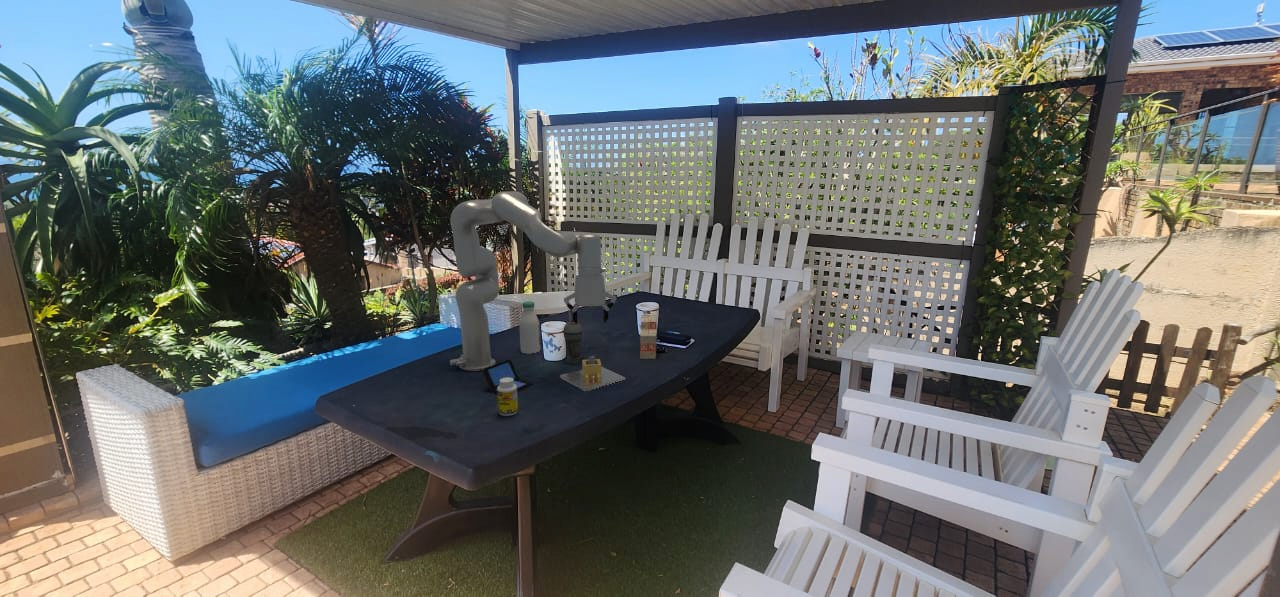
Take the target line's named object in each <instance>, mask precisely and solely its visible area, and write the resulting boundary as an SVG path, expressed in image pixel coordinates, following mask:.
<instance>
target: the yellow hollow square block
mask: <svg viewBox="0 0 1280 597" xmlns="http://www.w3.org/2000/svg"><path fill="white" fill-rule="evenodd" d="M581 362H582V364H581V365H582V366H581V367H582V369H583V379H584V380H585V382H586V384H589V380H591V375H595V379H597V381H598V383H601V379H602V376H601V367H602V362H601V359H600V358H595V364H589V359H582V361H581Z"/></svg>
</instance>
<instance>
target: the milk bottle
mask: <svg viewBox="0 0 1280 597" xmlns="http://www.w3.org/2000/svg"><path fill="white" fill-rule="evenodd" d="M521 305H522V314H521V317H520V319H519V342H520V344H519V345H520V353H522V354H524V353H525V355H533V354H532V353H534V354H537V352H538V353H540V352H541V335H540V334H541V333H540V331H541V330H540V322H539V318H538V316H537V314H536V312H535V302H534V301H529V300H528V301H523V302H522V303H521Z"/></svg>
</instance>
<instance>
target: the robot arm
mask: <svg viewBox="0 0 1280 597" xmlns="http://www.w3.org/2000/svg"><path fill="white" fill-rule="evenodd" d="M504 221H506V222H508V223H510V224H512V225H513V226H514V227H515V228H518V229H519V230H520V231H522V232H524V233H525V234H526V236H527V237H528V239H529V240H530V242H531V243H532V244H533V245H535V246H536V247H537V248H539V249H541V250H542V251H543V252H545V253H547V254H548V255H550V256H553V257H554V258H559V259H560V258H565V257H568V256H572V255H577V275H575V280H574V292H573V293H571V294H570V295H567V296H565V297H563V302H564V303H565V305H566V306H567V308H568V309H570V312H572V321H575V324H577V322H578V309H579V308H580V307H600V306H601V307H602V308H603V313H602V314H603V323H605V324H606V323H607V320H609V311H610V309H611V308H612V307H614V304H615V303H616V301H617V296H615V295H613V294H611V293H609V292H607V291H606V285H605V278H604V275H603V274H602V273H605V272H606V271H607V270H606V267H602V245H601V244H602V240H601V236H600V234H598V233H593V232H591V233H590V232H586V233H584V232H577V231H576V232H575V231H566V232H561V233H559V232H557V231H555V230H553V229H552V228H550V227H548V226H547V225H546V224H545V223H544V222H542V213H541V211H540V210H538V209H536V208H535V207H533V206H532V205H530V203H529V201H528V198H527V197H526V195H525V194H524V193H522V192H520V191H516V190H515V191H509V190H508V191H500V192H498V193H496V194H494V196H493V197H492V198H489V199H488V198H487V199H471V200H466V201H463V202H460V203H459V204H457V206H455V207H454V208H453V210H452V212H451V215H450V227H451V231H452V237H453V246H454V247H453V248H454V256H455V263H456V270H457V272H458V274H459V275H460V276H462V277H463V278H473V277H475V279H469V280H467V281H465V282H462V283H461V284H460V285H459V286H458V287H457V288H456V291H455V301H456V305H457V307H458V312H459V313H458V314H459V320H460V331H461V344H462V354H460V357H458V358H454V359H450V360H449V364H450V366H454V365H456V366H457V367H458V366H459V369H460V368H461V369H460V370H462V369H463V370H462V371H465V370H467V371H466V372H481V371H483V369H485V368H487V367H490V366H493V365H495V364H496V360H495V359H494V358H492V356H491V342H490V328H489V318H488V313H487V311H486V309H485V307H484V305H485V304H489V303H490V302H492V301H494V300H495V299H497V297H498V296H499V293H500V279H499V270H498V260H497V258H496V256H495V254H494V253H493V251H492V250H491V249H490V248H487V247H481V245H480V244H481V243H480V242H481V241H480V237H479V233H478V232H477V229H476V228H475V227H476V226H481V225H488V224H489V225H490V224H495V223H496V224H497V223H499V222H504ZM607 298H608V299H609V300H610V301H609V303H608V304H607V303H606V300H607ZM573 299H574V304H573V305H572V304H571V303H570V301H571V300H573ZM480 370H481V371H480Z"/></svg>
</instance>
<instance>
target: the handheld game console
mask: <svg viewBox="0 0 1280 597" xmlns="http://www.w3.org/2000/svg"><path fill="white" fill-rule="evenodd" d="M482 373H483V377H484V378H485V380H486V383H487V385H488V386H489V389H490V393H491V394H496V395H497V387H498V386H499V385H500V379H502V378H507V377H509V378H513V379H514V384H515V385H516V386H517V393H518V392H521V391H522V390H523V391H524V390H526V389H527V388H529V387H531V386H533V385H534V382H533V381H530V380H526V379H522V378H520V376H519V374H518V373H517V371H516V368H515V366H514V363H513V361H512V360H510V359H506V360H504V361H502V362H499V363H495V365H493V366H490V367H487V368H485V369H483V370H482Z"/></svg>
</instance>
